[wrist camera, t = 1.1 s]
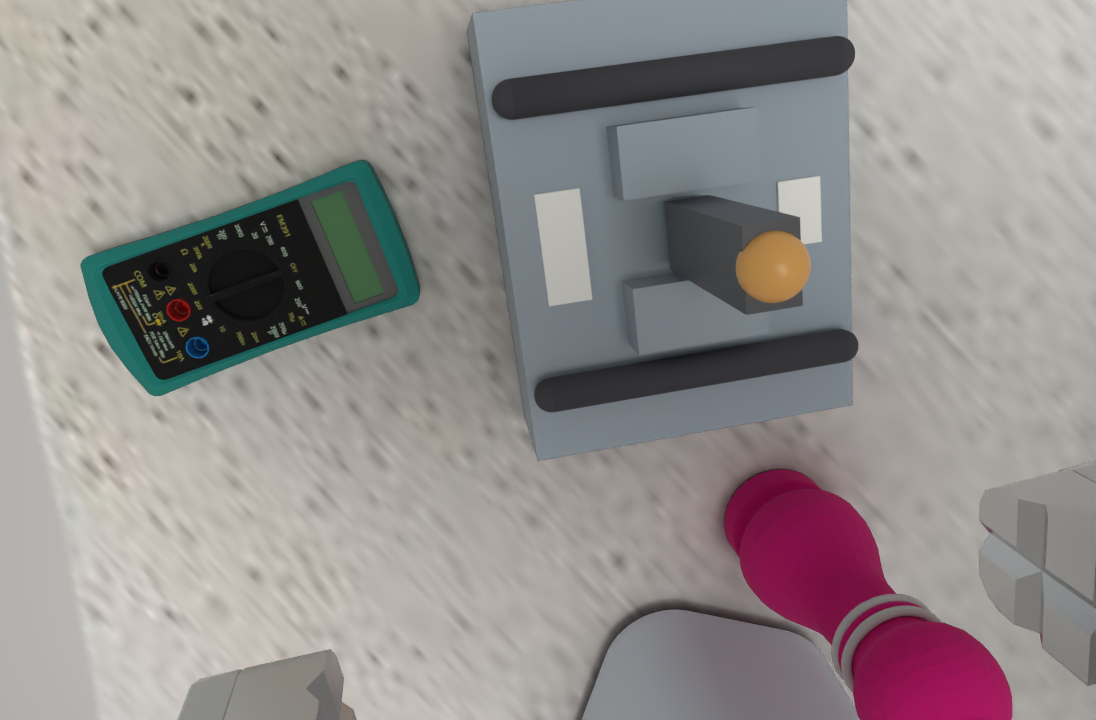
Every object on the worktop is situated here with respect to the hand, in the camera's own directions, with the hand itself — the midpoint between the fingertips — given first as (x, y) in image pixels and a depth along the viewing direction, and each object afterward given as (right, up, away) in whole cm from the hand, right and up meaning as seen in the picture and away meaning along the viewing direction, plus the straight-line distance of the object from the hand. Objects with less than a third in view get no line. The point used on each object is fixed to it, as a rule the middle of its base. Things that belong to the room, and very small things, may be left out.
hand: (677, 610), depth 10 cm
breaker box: (+4, +11, +32) cm, 34 cm away
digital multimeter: (-16, +8, +31) cm, 35 cm away
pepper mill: (+12, -6, +38) cm, 40 cm away
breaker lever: (+5, +9, +25) cm, 27 cm away
